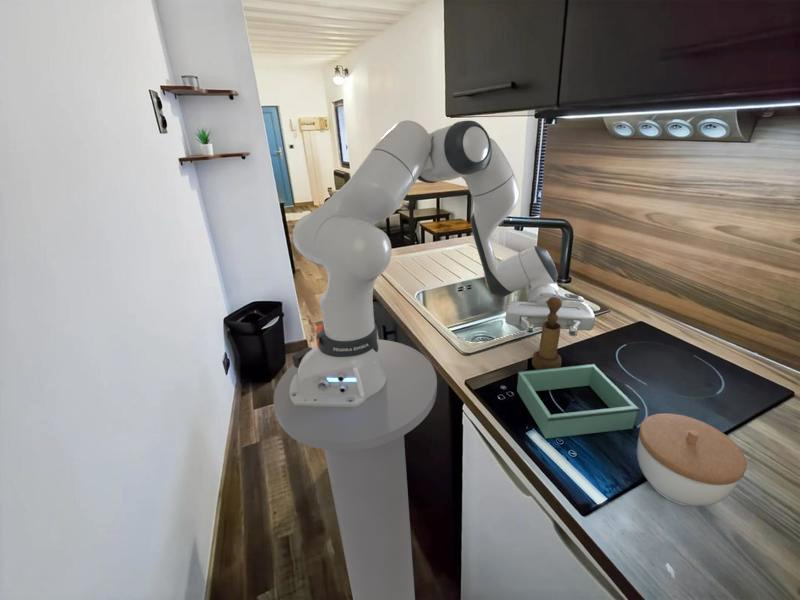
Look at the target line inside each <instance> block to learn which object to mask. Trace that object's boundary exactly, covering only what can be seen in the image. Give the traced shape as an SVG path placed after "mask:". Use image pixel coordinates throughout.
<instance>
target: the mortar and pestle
mask: <svg viewBox="0 0 800 600" xmlns="http://www.w3.org/2000/svg"><path fill="white" fill-rule="evenodd" d="M547 305H548V308H549V310H550V313H549V314H548V315H547V318H548V321H546V322H544V323H543V325H542V327H541V333H540V342H539V348H538V350H536V351H535V352H533V354H532V358H531V365H532V367H533V368H534V369H535V370H540V369H550V368H560V367H562V360H563V359H562V357H561V355H560V354H558V347H559V342H560V341H559V340H560V335H561V334H560V333H561V326H560V324H558V323H556V322H557V319H558V315H557V314H556V313H557V311H558V310H559V309H560V307H561V306H562V301H561V299H560V298H558V297H551V298H550V299H549V300H548V302H547Z"/></svg>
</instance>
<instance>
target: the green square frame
mask: <svg viewBox="0 0 800 600" xmlns="http://www.w3.org/2000/svg"><path fill="white" fill-rule="evenodd" d="M587 386H588V387H590V388H591V389H592V390H593V391H594V393H595V394H596V395H597V396H598V397H599V398H600V399H601V400H602V402H604V404H605V405H606V406H607V408H600V409H598V408H597V409H591V410H590V409H589V410H580V411H571V412H563V413H554V414H551V413H550V411H549V410H548V408H547V407H546V405H545V404H544V403H543V400H541V398H540V397H539V395H538V394H537V392H542V391H549V390H550V391H551V390H559V389H570V388H578V387H587ZM516 392H517V394H518V395H519V397H520V399H521V400H522V402H523V403H524V405H525V407H526V408H527V411H528V412H529V413H530V415H531V417H532V418H533V420H534V422H535V424H536V425H537V427H538V428H539V430H540V432H541V434H542V435H543V437H544V439H554V438H561V437H563V438H564V437H572V436H580V435H581V436H582V435H588V434H597V433H604V432H605V433H606V432H607V433H608V432H615V431H624V430H632V429H634V425H635V421H636V417H637V415H638V412H639V411H640V407H638V406H637V405H636V404H635V403H634V402H633V401H632V400H631V399H630V398H629V397H628V396H627V395H626V394H624V393H623V391H622V390H621V389H620V388H618V386H617V385H615V383H614V382H613V381H611V379H610V378H608V377H607V376H606V374H605V373H604V372H602V371H601V370H600V368H599V367H598V366H596V363H591V364H581V365H580V364H579V365H571V366H561V367H560V368H550V369H540V370H537V369H532V370H531V369H530V370H522V371H517V385H516Z"/></svg>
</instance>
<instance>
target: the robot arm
mask: <svg viewBox="0 0 800 600" xmlns="http://www.w3.org/2000/svg"><path fill="white" fill-rule="evenodd" d="M512 168H513V167H512V166H511V165H510V162H509V161H508V158H507V157H506V156H505V154H504V152H503V150H502V149H501V147H500V146H499V145H498V143H497V142H496V141H495V140H494V139H493V138H491V137H490V135H489V133H488V132H487V130H486V129H485V127H483V126H482V124H480V123H479V122H477V121H475V120H461V121H457V122H454V123H453V124H451V125H448V126H444V127H442V128H438V129H436V130H434V131H432V132H430V133H429V132H428V131H427V129H426V128H425V127H424V126H423V125H421V124H420V123H419V122H417V121H413V120H409V119H408V120H407V119H406V120H401V121H399V122H397V123H396V124H395V125H393V127H391V129H389V130H388V131H387V132H386V133H384V135H383V136H382V137H381V138H380V139H379V141H378V142H377V143H376V144H375V146H374V147H373V148H372V149H371V151H370V152H369V153H368V155H367V156H366V157H365V158H364V160H363V161H362V162H361V164H360V165H359V167H358V168H357V169H356V170H355V172H353V174H352V176H351V177H350V178H349V179H348V180H347V182H345V183H344V184H343V185H342V187H340V188H338V190H337V191H336V192H334V193H333V194H332V195H331V197H329V198H328V199H327V200H325V201H324V202H323V203H322V204H320V206H318V208H317V207H316V209H314V210H313V211H311V212H310V213H307V214H305V215H303V216H301V217H300V218H299V219H298V220H297V221H296V223H295V225H294V226H293V227H294V228H293V231H292V239H293V240H292V241H293V244H294V247H295V248H296V250H297V251H298V252H299V253H300V254H301V255H302V256H303V257H304V258H305V259H306V260H307V261H309V262H311V263H313V264H314V265H317V266H320V267H323V269H325V272H326V274H327V285H326V290H325V291H324V292H323V294H321V297H320V300H319V305H320V306H319V307H320V313H321V318H322V319H321V320H322V323H323V324H322V323H320V324H317V326H316V330H315V333H316V336H315V340H316V345H315V346H314V347H310V346H307V347H305V348H303V349H301V350H300V351H298V352H297V353H295V354H293V355H291V357H292V363H293V365H294V367H296V368H298V372H297V373H296V374H295V376H294V377H293V379H292V382H291V385H290V390H289V395H290V400H291V402H292V404H293V405H294V406H317V407H359V406H360V405H362V404H363V403H364V402H365V400H366V399H367V398H369V397H371V396H372V395H374V394H376V393H377V392H379V391H380V390H381V389H382V388H383V387H384V385H385V383H386V380H387V376H386V373H385V371H384V369H383V366H382V364H381V360H380V356H379V352H378V346H379V340H380V339H379V331H378V328H377V324H376V323H375V315H374V301H373V300H374V299H373V296H374V288H375V284H376V281H377V280H378V278H379V277H380V276H381V275H382V274H383V273H384V272H385V271H386V270H387V268H388V266H389V264H390V262H391V258H392V252H393V251H392V243H391V240H390V237H389V236H388V235H387V233H386V232H385V231H383V230H382V229H381V228H379V227H377V226H375V225H376V224H379V223H380V222H381V221H385V220H387V219H388V218H390V217H391V216H393V214H395V213H396V211H397V210H398V208H399V207H400V205H401V204H402V203H403V201H404V200H405V198H406V196H407V195H408V194H409V192H410V190H411V189H412V188H413V186H414V185H415V184H416V182H417V181H420V182H422V183H425V184H426V183H427V184H436V183H438V182H445V181H452V180H455V179H459V178H461V179H462V180H464V181H465V184H466V187H467V189H468V190H469V191H468V192H469V193H470V195H471V197H472V200H473V204H474V208H473V212H472V214H471V215H470V228H471V233H472V236H473V240H474V243H475V246H476V250H477V252H478V253H477V254H478V256H479V260H480V262H481V266H482V269H483V273H484V280H485V284H486V287H487V289H488V291H489V292H490V294H492V295H495V296H497V297H502V298H504V297H507V296H509V295H511V294H513V293H515V292H518V291H519V290H522V289H525V295H526V300H527V301H519V300H518V301H517V300H515V301H514V300H513V301H510V302H508V303H505V304H504V307H503V308H504V311H505V323H506V324H507V325H509V326H520V327H521V328H523V329H524V330H525V333H530V334H531V333H533V332H534V328H542V325H543V323H544V322H546V321H548V318H547V315H548V314H549V313H550V310H549V308H548V305H547V302H548V300H549V299H550V298H551V297H558V298H560V299H561V301H562V306H561V307H560V309H559V310H558V311H557V313H556V314H557V315H558V319H557V322H556V323H558V324H560V326H561V329H562V330H568V335H569V336H573V337H577V336H578V332H579V331H591V330H593V329H594V328H595V323H596V316H595V313H594V311H593V309H592V308H591V307H590V305H588V304H587V303H585V302H584V299H585V298H584V297H583V296H581V295H576V294H573V293H572V294H571V293H567V292H564V291H561V290H560V287H559V285H558V283H557V281H558V278H559V274H558V269H557V268H556V265H555V262H554V260H553V258H552V257H551V255H550V253H549V252H548V250H547V249H544V248H542V247H540V246H536V245H534V246H532V247H529V248H527V249H524V250H522V251H519V252H518V253H515V254H512V255H510V256H508V257H506V258H503V259H497V257H496V255H495V251H494V248H493V244H492V240H491V236H492V234H493V233H494V231H495V230H496V228H497V227H498V226H499V225H500V224H501V223H503V221H504V220H505V219H507V218H508V217H509V215H510V214H511V213H512V212H513V210H515V208H516V206H517V204H518V202H519V198H520V192H521V191H520V188H519V184H518V180H517V178H516V175H515V173H514V171H513V169H512ZM561 329H560V330H561Z"/></svg>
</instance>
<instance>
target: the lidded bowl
mask: <svg viewBox="0 0 800 600" xmlns="http://www.w3.org/2000/svg"><path fill="white" fill-rule="evenodd" d="M636 458H637V463H638V466H639V469H640V471H641V473H642V475H643V476H644V478H645V479H646V481H648V483H649V484H650V485H651V487H652V488H653V489H654V490H655V492H657V493H658V494H660V496H662V497H663V498H664V499H666V500H668V501H670V502H672V503H674V504H677V505H679V506H685V507H708V506H713V505H715V504H718V503H720V502H722V501H724V500H725V499H726V498H727V497H729V496H730V494H732V493H733V491H734V490H735V489H736V488H737V486H738V484H739V482H740V480H741V479H742V478H743V477H744V475H745V473H746V472H747V467H748V462H747V458H746V455H745V454H744V451H742V450H741V447H739V446H738V445H737V443H736V442H735V441H734V440H733V439H732V438H730V437H729V436H728V435H727V434H725V433H724V432H722V431H721V430H719V429H718V428H715V427H714V426H713V425H710V424H708V423H706V422H704V421H702V420H699V419H696V418H693V417H690V416H687V415H682V414H677V413H665V412H664V413H656V414H655V413H654V414H652V415H649V416H647V417H646V418H644V419H643V421H642V422H641V423H640V426H639V432H638V438H637V442H636Z"/></svg>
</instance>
